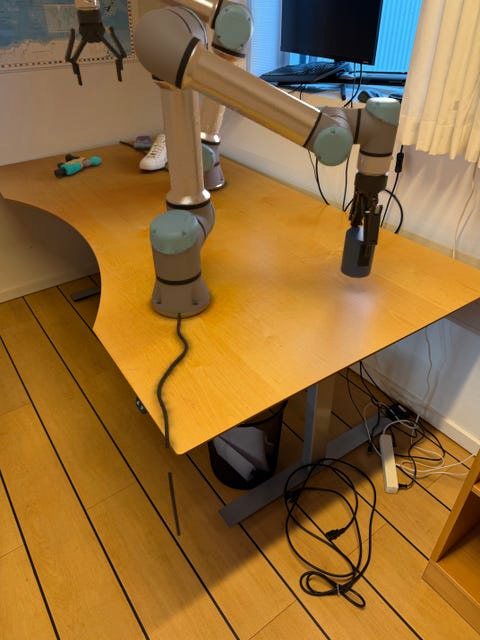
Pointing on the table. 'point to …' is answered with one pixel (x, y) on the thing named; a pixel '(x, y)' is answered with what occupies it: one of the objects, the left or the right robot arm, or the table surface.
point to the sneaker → (155, 155)
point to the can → (354, 254)
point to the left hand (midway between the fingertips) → (357, 257)
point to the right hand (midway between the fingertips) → (100, 83)
